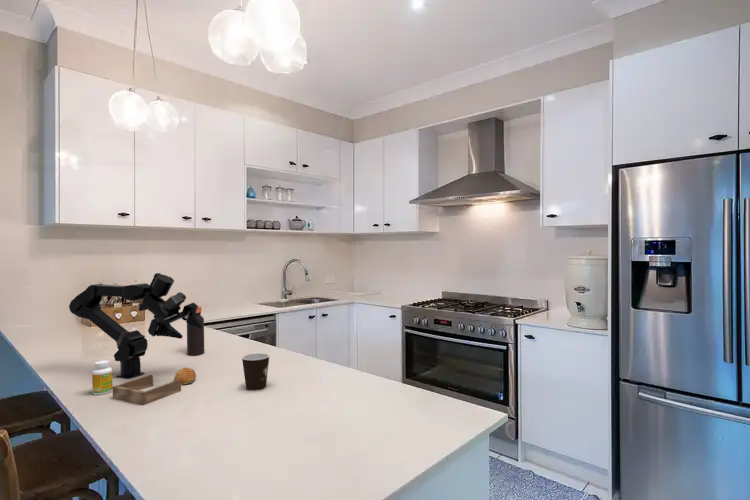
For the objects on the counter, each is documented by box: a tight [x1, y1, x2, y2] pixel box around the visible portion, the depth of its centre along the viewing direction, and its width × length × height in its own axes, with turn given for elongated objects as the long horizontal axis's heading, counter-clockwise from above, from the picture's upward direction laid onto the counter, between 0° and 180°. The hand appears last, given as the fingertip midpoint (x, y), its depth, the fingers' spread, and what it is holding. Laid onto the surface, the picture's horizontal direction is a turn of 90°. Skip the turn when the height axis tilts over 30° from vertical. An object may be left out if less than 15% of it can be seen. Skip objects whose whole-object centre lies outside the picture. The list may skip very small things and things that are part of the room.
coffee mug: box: [241, 352, 270, 391], centre depth 139 cm, size 12×9×10 cm
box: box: [112, 374, 182, 406], centre depth 132 cm, size 14×13×4 cm
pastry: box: [174, 367, 197, 386], centre depth 144 cm, size 9×7×4 cm
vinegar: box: [186, 305, 205, 357], centre depth 180 cm, size 7×7×20 cm
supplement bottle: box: [91, 360, 114, 396], centre depth 134 cm, size 5×5×10 cm
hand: (192, 332), depth 145 cm, fingers open, 9 cm apart
